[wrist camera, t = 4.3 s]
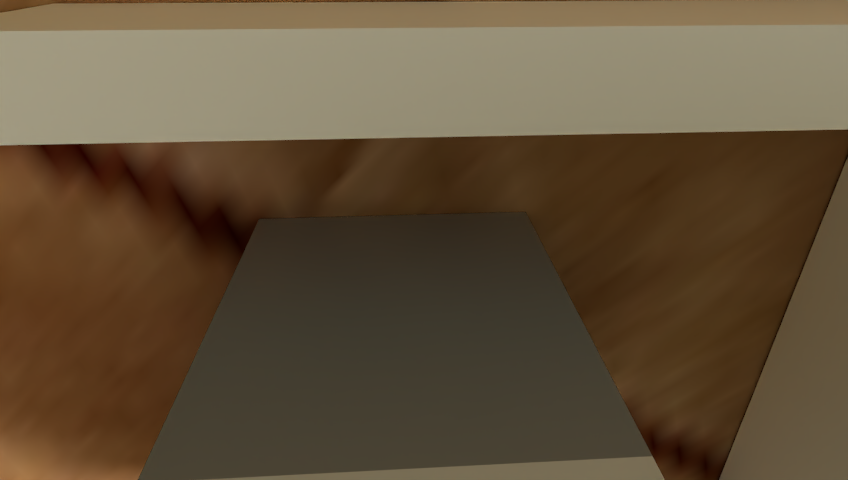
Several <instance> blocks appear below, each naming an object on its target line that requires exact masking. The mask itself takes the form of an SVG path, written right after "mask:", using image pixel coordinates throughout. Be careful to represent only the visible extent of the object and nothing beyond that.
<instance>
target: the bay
mask: <svg viewBox="0 0 848 480" xmlns="http://www.w3.org/2000/svg"><path fill="white" fill-rule="evenodd" d="M847 129H848V0H648V1H452V2H256V3H61V4H48V5H42V6H36V7H31V8H25V9H19V10H14V11H8V12H2V13H0V145H43V144H96V143H150V142H203V141H257V140H311V139H364V138H418V137H472V136H525V135H579V134H632V133H686V132H740V131H793V130H847ZM719 480H848V157H847V160H846V162H845V165H844V167H843V170H842V172H841V175H840V178H839V180H838V183H837V185H836V188H835V190H834V193H833V195H832V198H831V200H830V203H829V205H828V208H827V210H826V213H825V215H824V218H823V220H822V223H821V225H820V228H819V230H818V233H817V235H816V238H815V240H814V243H813V245H812V248H811V250H810V253H809V255H808V258H807V260H806V263H805V265H804V268H803V270H802V273H801V275H800V278H799V280H798V283H797V285H796V288H795V290H794V293H793V295H792V298H791V300H790V303H789V305H788V308H787V310H786V313H785V316H784V318H783V321H782V323H781V326H780V328H779V331H778V333H777V336H776V338H775V341H774V343H773V346H772V348H771V351H770V353H769V356H768V358H767V361H766V363H765V366H764V368H763V371H762V373H761V376H760V378H759V381H758V383H757V386H756V388H755V391H754V393H753V396H752V398H751V401H750V403H749V406H748V408H747V411H746V413H745V416H744V418H743V421H742V423H741V426H740V428H739V431H738V433H737V436H736V438H735V441H734V443H733V446H732V448H731V451H730V454H729V456H728V459H727V461H726V464H725V466H724V469H723V471H722V474H721V476H720V479H719Z"/></svg>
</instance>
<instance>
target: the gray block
mask: <svg viewBox="0 0 848 480" xmlns="http://www.w3.org/2000/svg"><path fill="white" fill-rule="evenodd" d="M138 480H665V479H664V478H663V476H662V474H661V472H660V470H659V468H658V466H657V464H656V462H655V460H654V458H653V456H652V454H651V453H650V451H649V449H648V447H647V445H646V443H645V441H644V439H643V437H642V435H641V433H640V431H639V429H638V428H637V426H636V424H635V422H634V420H633V418H632V416H631V414H630V412H629V410H628V408H627V406H626V404H625V402H624V401H623V399H622V397H621V395H620V393H619V391H618V389H617V387H616V385H615V383H614V381H613V379H612V377H611V376H610V374H609V372H608V370H607V368H606V366H605V364H604V362H603V360H602V358H601V356H600V354H599V352H598V351H597V349H596V347H595V345H594V343H593V341H592V339H591V337H590V335H589V333H588V331H587V329H586V327H585V326H584V324H583V322H582V320H581V318H580V316H579V314H578V312H577V310H576V308H575V306H574V304H573V302H572V300H571V299H570V297H569V295H568V293H567V291H566V289H565V287H564V285H563V283H562V281H561V279H560V277H559V275H558V274H557V272H556V270H555V268H554V266H553V264H552V262H551V260H550V258H549V256H548V254H547V252H546V250H545V249H544V247H543V245H542V243H541V241H540V239H539V237H538V235H537V233H536V231H535V229H534V227H533V225H532V224H531V222H530V220H529V218H528V216H527V214H526V212H498V213H460V214H423V215H386V216H348V217H311V218H273V219H259V220H258V222H257V225H256V227H255V229H254V231H253V233H252V235H251V238H250V240H249V242H248V244H247V246H246V248H245V250H244V253H243V255H242V257H241V259H240V261H239V263H238V266H237V268H236V270H235V272H234V274H233V276H232V278H231V281H230V283H229V285H228V287H227V289H226V291H225V294H224V296H223V298H222V300H221V302H220V304H219V306H218V309H217V311H216V313H215V315H214V317H213V319H212V321H211V324H210V326H209V328H208V330H207V332H206V334H205V337H204V339H203V341H202V343H201V345H200V347H199V349H198V352H197V354H196V356H195V358H194V360H193V362H192V365H191V367H190V369H189V371H188V373H187V375H186V377H185V380H184V382H183V384H182V386H181V388H180V390H179V393H178V395H177V397H176V399H175V401H174V403H173V405H172V408H171V410H170V412H169V414H168V416H167V418H166V421H165V423H164V425H163V427H162V429H161V431H160V433H159V436H158V438H157V440H156V442H155V444H154V446H153V448H152V451H151V453H150V455H149V457H148V459H147V461H146V464H145V466H144V468H143V470H142V472H141V474H140V476H139V479H138Z"/></svg>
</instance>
